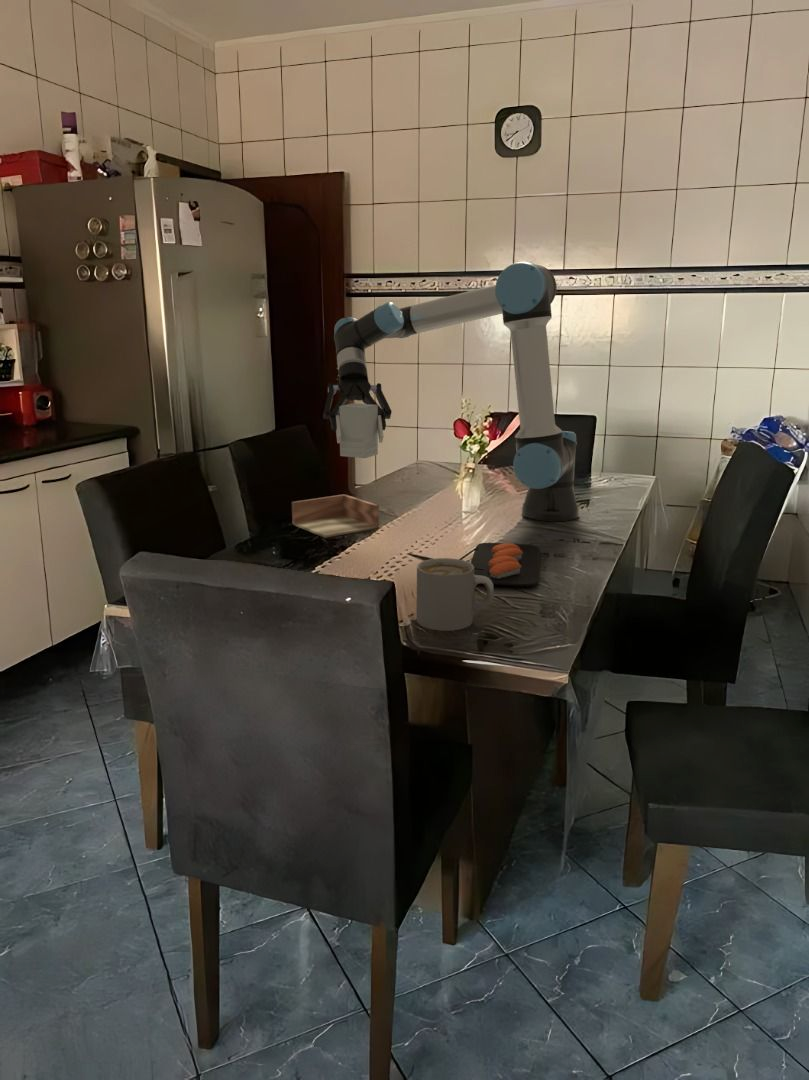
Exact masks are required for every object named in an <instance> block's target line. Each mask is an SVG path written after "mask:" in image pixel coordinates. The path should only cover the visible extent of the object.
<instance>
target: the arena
mask: <svg viewBox="0 0 809 1080" xmlns="http://www.w3.org/2000/svg"><path fill="white" fill-rule="evenodd" d="M379 509H380V505H379V504H377V503H374V502H370V501H367V500H364V499H361V498H358V497H355V496H351V495H349V494H345V493H344V494H337V495H330V496H324V497H323V496H322V497H317V498H316V497H315V498H310V499H309V498H308V499H303V500H296V501H291V516H292V517H291V519H292V525H293V526H295V527H297V528H300V529H303V530H304V531H306V532H308V533H309V532H310V533H312V534H314V535H317V536H320V537H321V538H324V539H326V538H332V537H337V536H338V537H339V536H342V535H349V534H352V533H353V534H354V533H359V532H365V531H371V530H376V529H379V528H380V511H379Z"/></svg>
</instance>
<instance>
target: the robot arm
mask: <svg viewBox="0 0 809 1080" xmlns="http://www.w3.org/2000/svg"><path fill="white" fill-rule="evenodd" d="M557 287H558V286H557V281H556V278H555V276H554V274H553V272H551V270H550V269H548V268H547V267H545V266H543V265H540V264H536V263H534V262H532V261H531V262H530V261H518V262H513V263H511V264H510V265H508V266H506V267H505V268H504V269H503V270H502V271H501V273H500V274H499V276H498V277H497V279H496V282H495V284H493V285H492V284H491V285H488V286H485V287H481V288H477V289H476V288H475V289H473V290H469V291H465V292H460V293H456V294H452V295H449V296H445V297H442V298H441V297H440V298H437V299H433V300H428V301H425V302H421V303H418V304H414V305H409V306H405V307H401V308H399V306H398V305H396V304H395V303H394V302H391V301H389V302H386V303H384V304H381V305H379V306H377V307H376V308H375V309H373V310H371V311H370V312H368V313H366V314H364V315H363V316H362V317H360V318H359V319H357V318H355V317H352V316H351V317H350V316H348V317H346V318H345V317H343V318H340V319H339V320H338V321H337V322H336V324H335V325H334V329H333V330H334V335H333V340H334V345H335V353H336V364H337V370H338V371H337V372H338V384H333V383H331V382H329V383H328V384H327V398H326V401H325V404H324V405H325V406H324V409H323V415H322V418H323V419H324V420H329V421H330V424H331V425H330V426H331V427H330V428H331V430H332V431H335V433H336V434H335V435H336V442H337V444H340V442H341V430H340V410H339V406H343V405H347V402H348V401H349V402H350V401H358V402H359V401H361V402H363V404H371V405H378V443H380V444H381V443H382V444H383V441H384V440H383V439H384V431H385V430H386V426H387V423H386V420H389V419H391V415H392V409H391V406H390V405H389V403H388V400H387V399H386V397H385V394H384V393H383V390H382V383H377V384H375V385H374V384H371V383H370V382H369V374H368V369H367V366H368V365H367V360H366V351H365V350H366V349H368V348H370V347H371V346H373V345H374V344H377V343H378V342H380V341H382V340H384V339H396V338H397V339H403V338H404V339H405V338H409V337H410V336H414V335H417V334H420V333H426V332H429V331H433V330H434V331H435V330H438V329H443V328H447V327H450V326H455V325H460V324H464V323H468V322H472V321H477V320H480V319H485V318H490V317H494V316H497V315H498V316H499V315H502V324H503V325H504V326H505V327H506V328H507V329H508V330H509V331H510V339H511V348H512V349H511V350H512V358H513V368H514V369H513V370H514V379H515V388H516V398H517V400H516V401H517V410H518V418H519V427H520V428H519V430H518V432H517V433H516V434H515V435H514V438H515V439H514V440H515V450H516V453H515V454H514V458H513V463H512V464H513V465H512V468H513V473H514V475H515V477H516V479H517V480H518V481H519V483H521V484H522V485H524V486H525V487H527V488H528V489H527V492H526V496H525V498H524V502H523V503H522V506H521V515H522V516H523V517H525V518H528V519H531V520H536V521H545V522H566V521H572V520H576V519H577V518H578V517H579V511H580V509H579V506H578V503H577V498H576V493H575V490H574V485H575V484H574V483H575V468H576V466H575V465H576V451H577V445H578V442H577V435H576V433H575V432H574V431H565V430H562V429H561V428H560V427H558V426H557V425H556V420H555V408H554V397H553V387H552V376H551V366H550V365H551V364H550V353H549V341H548V333H547V325H548V323H549V322H550V320H551V319H552V318H553V317H552V303H553V302H554V300H555V297H556V296H557V295H556V294H557V291H558V290H557ZM337 391H338V392H339V393H340V394H341V396H340V398H339V399H338V400H337V401H338V402H337V403H336V404H335V406H334V408H333V409H332V411H331V407H332V404H333V399H334V395H335V394H336V393H337ZM370 392H372V393H373V395H375V398H376V400H377V401H376V400H375V399H374V398H373V396H371V393H370Z"/></svg>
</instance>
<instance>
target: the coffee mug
mask: <svg viewBox="0 0 809 1080" xmlns="http://www.w3.org/2000/svg"><path fill="white" fill-rule="evenodd" d="M459 559H460V558H449V557H447V558H446V557H443V558H442V557H440V558H439V557H438V558H433V559H429V560H425V559H424V560H423V561H421V562H419V563H417V565H416V623H417V624H418V625H420V626H421V627H423V628H426V629H429V630H434V631H442V632H443V631H444V632H449V631H459V630H462V629H466V628H468V627H470V626H472V624H473V621H474V614H475V613H476V612H477V611H480V610H483V609H485V608H487V607H489V606H490V605H491V603H492V602H493V600H494V596H495V588H494V584H493V583H492V581H491V580H490V579H489V578H488V577H486V576H481V575H474V566H473V565H472V564H471V562H469V561H466V560H464V559H462V560H459ZM479 584H480V585H481V584H482V585H484V586H485V589H486V595H485V597H484V598H483V599H478V598H477V597H476V595H475V591H476V587H477V586H478V585H479Z"/></svg>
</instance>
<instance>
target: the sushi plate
mask: <svg viewBox="0 0 809 1080" xmlns="http://www.w3.org/2000/svg"><path fill="white" fill-rule="evenodd" d="M472 553H473V555H472V558H471V561H470V563H471V564H472V565H473V566H474V575H481V576H486V577H488V578H489V579H490V580H491V581H492V583H493V585H495V586H496V585H497V586H498V585H499V586H518V587H519V586H521V587H523V586H524V587H527V586H528V587H529V586H536V585H537V584H538V583H539V582H540V575H541V574H540V573H541V572H540V569H541V568H540V567H541V549H540V547H539V546H537V545H534V544H527V543H526V544H523V543H513V542H511V543H510V542H504V543H503V542H481V543H478V544H477V545H476V546H475V547H474V548H473V549H471V550H470V551H469V552H468V553H466V554H464V555H463V556H461V558H458V559H459V560H464V559H465V558H466V557H468V556H469V555H470V554H472ZM406 555H408V556H412V557H415V558H417V557H418V558H417V559H420V558H421V559H420V560H424V561H425V560H429V559H434V558H433V557H428V556H423V555H419V554H414V553H406Z"/></svg>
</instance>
